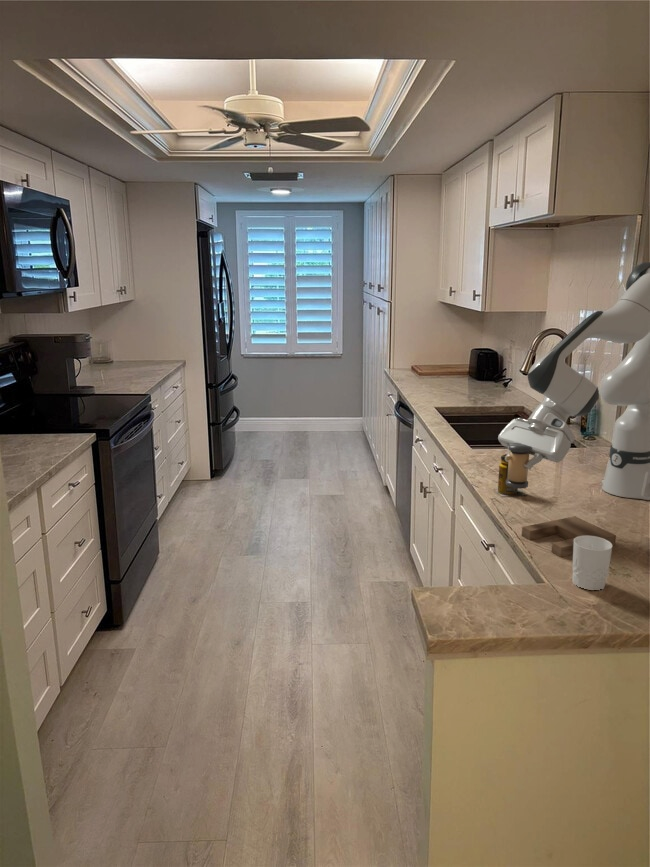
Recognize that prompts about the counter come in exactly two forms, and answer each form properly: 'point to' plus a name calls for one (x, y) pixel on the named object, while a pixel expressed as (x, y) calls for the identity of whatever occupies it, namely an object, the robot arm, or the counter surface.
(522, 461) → the tan grey capped cylinder
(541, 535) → the notched board
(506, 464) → the condiment
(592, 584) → the white cup
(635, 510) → the counter surface
